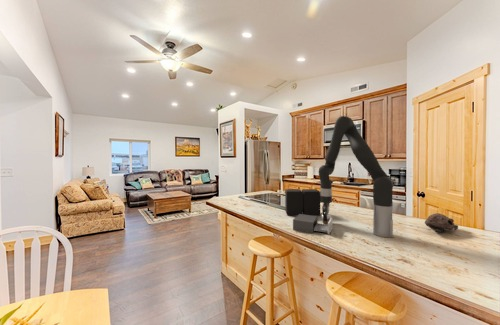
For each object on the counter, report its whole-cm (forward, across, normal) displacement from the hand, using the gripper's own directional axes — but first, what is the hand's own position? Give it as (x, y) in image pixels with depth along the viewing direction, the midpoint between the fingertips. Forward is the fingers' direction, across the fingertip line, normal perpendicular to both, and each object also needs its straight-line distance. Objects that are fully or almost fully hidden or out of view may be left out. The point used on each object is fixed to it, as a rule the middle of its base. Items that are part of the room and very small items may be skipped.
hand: (326, 219), depth 144 cm
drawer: (+2, -14, 0) cm, 15 cm away
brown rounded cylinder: (+3, 0, 0) cm, 3 cm away
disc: (-1, 0, 0) cm, 1 cm away
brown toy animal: (+3, +14, -62) cm, 64 cm away
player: (+3, -14, +10) cm, 18 cm away
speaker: (+3, +16, +20) cm, 26 cm away
